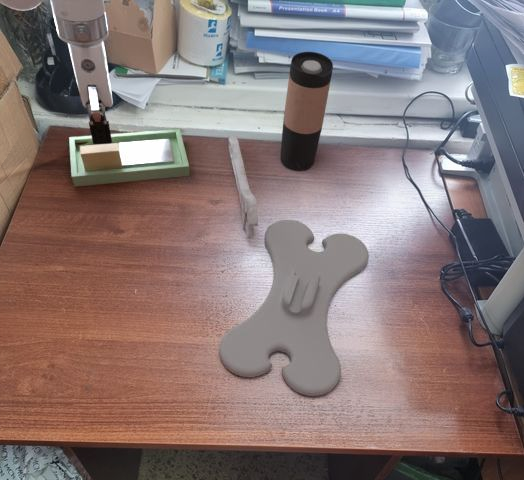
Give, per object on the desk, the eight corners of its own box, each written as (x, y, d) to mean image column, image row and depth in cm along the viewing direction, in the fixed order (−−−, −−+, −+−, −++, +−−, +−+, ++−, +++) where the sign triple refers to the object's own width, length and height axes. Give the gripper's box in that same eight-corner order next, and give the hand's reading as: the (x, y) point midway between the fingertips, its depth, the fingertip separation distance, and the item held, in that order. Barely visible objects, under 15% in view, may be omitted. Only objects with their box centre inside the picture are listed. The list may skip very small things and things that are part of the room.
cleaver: (169, 143, 104) (167, 124, 100) (174, 165, 100) (172, 146, 96) (83, 150, 101) (78, 131, 97) (85, 173, 97) (80, 154, 93)
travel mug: (281, 145, 107) (293, 48, 91) (316, 151, 107) (335, 54, 90) (276, 168, 103) (288, 70, 86) (313, 174, 103) (332, 77, 86)
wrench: (236, 158, 108) (257, 249, 90) (227, 159, 108) (246, 250, 90) (237, 122, 102) (259, 211, 84) (228, 122, 102) (248, 212, 83)
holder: (211, 369, 77) (210, 351, 73) (271, 220, 95) (274, 200, 91) (332, 404, 75) (339, 389, 71) (370, 247, 93) (377, 227, 89)
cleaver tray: (74, 186, 96) (71, 176, 94) (71, 147, 102) (68, 137, 100) (189, 175, 100) (189, 166, 98) (180, 138, 106) (179, 128, 104)
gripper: (111, 52, 73) (126, 155, 87) (102, -4, 82) (117, 97, 96) (56, 54, 72) (81, 158, 86) (54, -4, 80) (76, 99, 95)
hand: (100, 126), depth 91 cm, fingers open, 9 cm apart
